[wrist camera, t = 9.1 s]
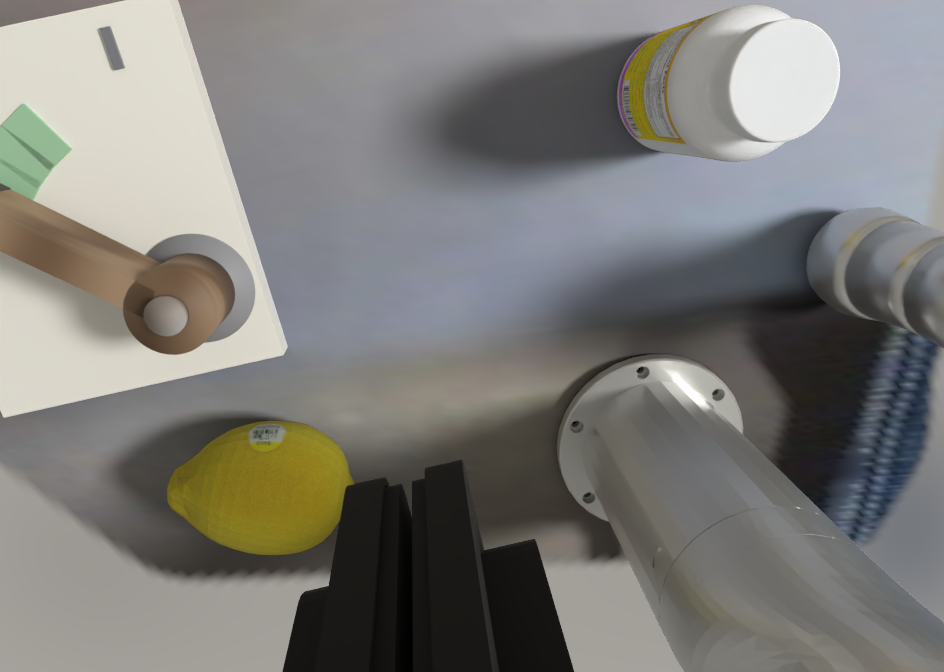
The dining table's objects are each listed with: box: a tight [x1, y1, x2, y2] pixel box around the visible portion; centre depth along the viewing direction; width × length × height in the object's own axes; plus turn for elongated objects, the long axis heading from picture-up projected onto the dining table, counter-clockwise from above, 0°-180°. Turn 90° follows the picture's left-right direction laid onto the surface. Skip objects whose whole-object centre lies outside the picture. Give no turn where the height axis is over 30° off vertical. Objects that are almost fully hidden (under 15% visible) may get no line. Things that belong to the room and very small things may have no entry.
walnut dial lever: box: [0, 183, 235, 355], centre depth 35 cm, size 14×4×5 cm, turn 60°
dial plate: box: [0, 0, 288, 417], centre depth 38 cm, size 20×17×2 cm
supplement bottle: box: [617, 5, 840, 162], centre depth 33 cm, size 7×7×13 cm
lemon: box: [167, 421, 355, 555], centre depth 40 cm, size 11×8×8 cm
